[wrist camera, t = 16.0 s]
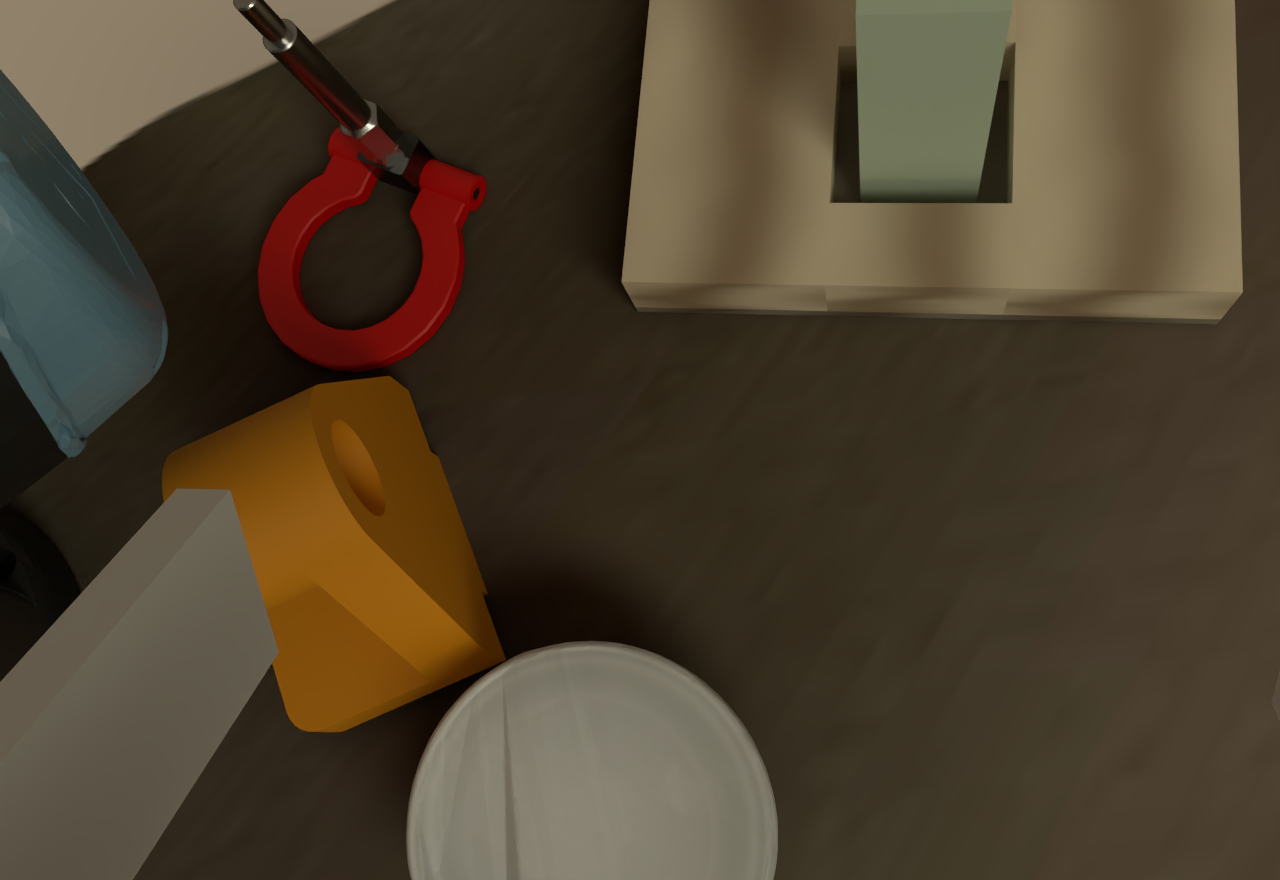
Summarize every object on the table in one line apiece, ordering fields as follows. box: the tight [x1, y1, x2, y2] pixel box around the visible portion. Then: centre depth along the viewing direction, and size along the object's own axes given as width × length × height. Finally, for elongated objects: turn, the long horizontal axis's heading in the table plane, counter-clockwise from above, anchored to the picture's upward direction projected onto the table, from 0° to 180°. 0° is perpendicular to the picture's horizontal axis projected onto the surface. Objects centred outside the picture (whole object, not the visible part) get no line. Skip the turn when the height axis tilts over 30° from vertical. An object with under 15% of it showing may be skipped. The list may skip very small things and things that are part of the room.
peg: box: [856, 0, 1012, 203], centre depth 38 cm, size 4×4×12 cm
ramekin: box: [406, 641, 778, 880], centre depth 38 cm, size 11×11×5 cm
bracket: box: [162, 376, 506, 732], centre depth 38 cm, size 11×7×12 cm
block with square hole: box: [622, 0, 1243, 324], centre depth 43 cm, size 20×12×3 cm, turn 85°
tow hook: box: [233, 0, 487, 372], centre depth 41 cm, size 8×13×9 cm
